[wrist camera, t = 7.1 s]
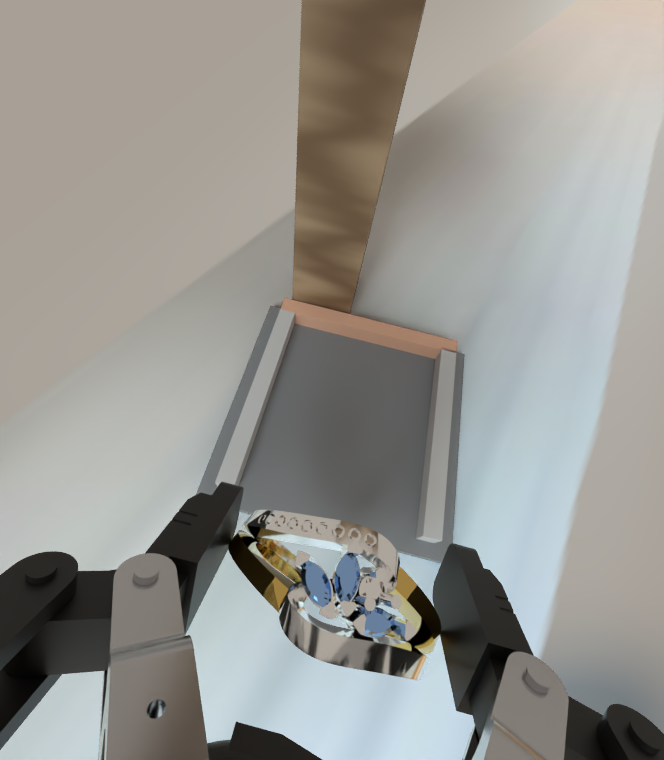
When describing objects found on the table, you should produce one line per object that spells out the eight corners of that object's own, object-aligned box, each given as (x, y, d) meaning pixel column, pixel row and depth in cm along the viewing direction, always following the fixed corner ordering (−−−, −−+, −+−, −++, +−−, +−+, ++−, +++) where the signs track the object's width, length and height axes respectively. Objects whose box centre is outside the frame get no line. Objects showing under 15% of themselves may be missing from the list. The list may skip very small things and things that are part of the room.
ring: (409, 610, 16) (511, 624, 9) (367, 691, 14) (449, 786, 7) (277, 505, 17) (275, 445, 10) (227, 569, 16) (184, 550, 9)
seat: (197, 500, 21) (190, 493, 19) (270, 310, 28) (270, 294, 26) (446, 564, 21) (460, 562, 19) (460, 358, 27) (471, 344, 26)
